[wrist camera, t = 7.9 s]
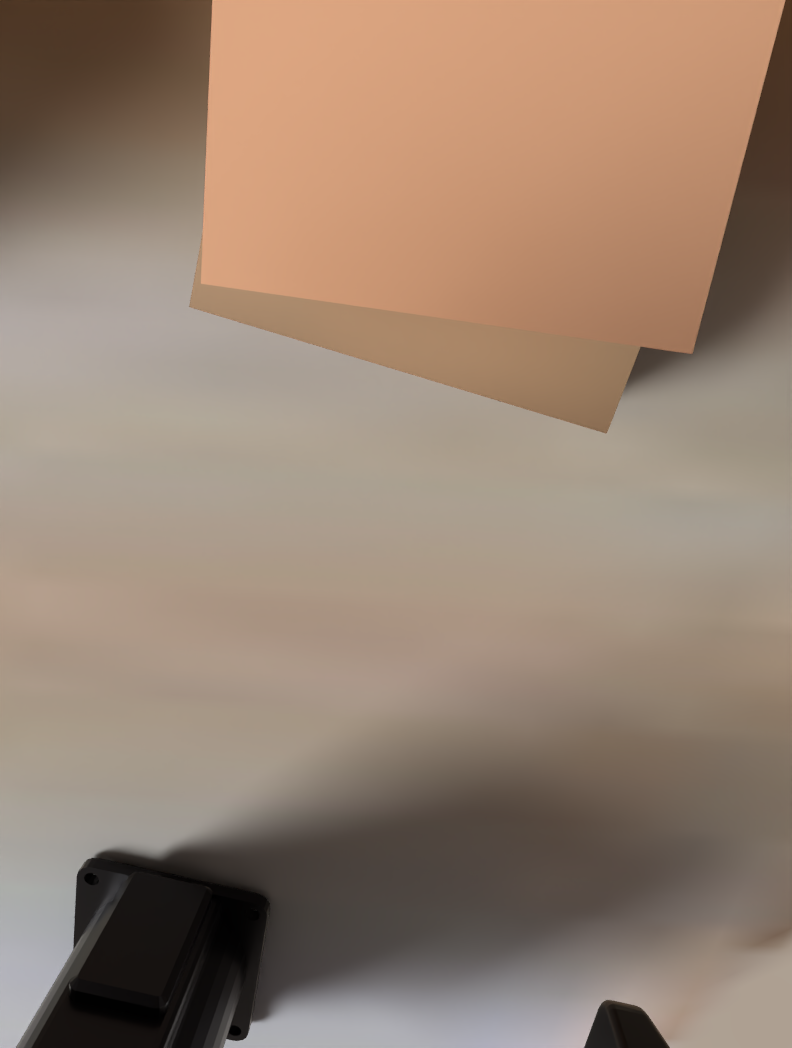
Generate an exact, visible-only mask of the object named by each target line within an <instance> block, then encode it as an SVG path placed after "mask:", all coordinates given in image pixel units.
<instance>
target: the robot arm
mask: <svg viewBox="0 0 792 1048" xmlns="http://www.w3.org/2000/svg"><path fill="white" fill-rule="evenodd" d="M94 874H95V875H94ZM252 909H255V910H257V911H254V910H252ZM269 912H270V903H269V901H268V900H267V899H266V898H265V897H264V896H263V895H260V894H257V893H253V892H248V891H244V890H239V889H235V888H230V887H226V886H221V885H216V884H212V883H207V882H203V881H198V880H194V879H189V878H185V877H180V876H176V875H171V874H166V873H162V872H157V871H153V870H148V869H144V868H139V867H135V866H130V865H126V864H121V863H116V862H112V861H107V860H103V859H98V858H91V859H88V860H87V861H85V862H84V864H83V865H82V867H81V868H80V870H79V871H78V874H77V885H76V906H75V927H74V948H73V951H72V953H71V955H70V957H69V958H68V960H67V962H66V963H65V965H64V967H63V968H62V970H61V972H60V974H59V975H58V977H57V979H56V980H55V982H54V984H53V985H52V987H51V989H50V991H49V992H48V994H47V996H46V997H45V999H44V1001H43V1002H42V1004H41V1006H40V1008H39V1009H38V1011H37V1013H36V1014H35V1016H34V1018H33V1019H32V1021H31V1023H30V1025H29V1026H28V1028H27V1030H26V1031H25V1033H24V1035H23V1036H22V1038H21V1040H20V1042H19V1043H18V1045H17V1047H16V1048H223V1047H224V1044H225V1041H226V1039H229V1040H235V1041H239V1040H243V1039H245V1038H246V1037H247V1035H248V1032H249V1029H250V1025H251V1021H252V1015H253V1009H254V1003H255V997H256V991H257V985H258V979H259V972H260V966H261V960H262V954H263V948H264V942H265V936H266V930H267V924H268V918H269ZM584 1048H670V1047H669V1046H668V1044H667V1043H666V1041H665V1040H664V1038H663V1037H662V1035H661V1034H660V1032H659V1031H658V1029H657V1028H656V1027H655V1025H654V1024H653V1022H652V1021H651V1019H650V1018H649V1016H648V1015H647V1014H646V1013H645V1012H644V1011H643V1010H642V1009H641V1008H640V1007H638V1006H635V1005H630V1004H626V1003H621V1002H616V1001H612V1000H606V1001H604V1002H603V1003H602V1004H601V1005H600V1007H599V1009H598V1012H597V1014H596V1017H595V1020H594V1022H593V1025H592V1028H591V1031H590V1033H589V1036H588V1039H587V1041H586V1044H585V1047H584Z"/></svg>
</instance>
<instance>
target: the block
mask: <svg viewBox="0 0 792 1048" xmlns="http://www.w3.org/2000/svg"><path fill="white" fill-rule="evenodd" d="M202 241H203V234H202V239H201V245H200V250H199V256H198V261H197V267H196V272H195V278H194V283H193V289H192V295H191V300H190V306H189V307H191V308H194V309H198V310H201V311H204V312H207V313H211V314H214V315H217V316H221V317H224V318H227V319H231V320H234V321H237V322H240V323H244V324H247V325H250V326H254V327H257V328H260V329H264V330H267V331H270V332H273V333H277V334H280V335H283V336H287V337H290V338H293V339H297V340H300V341H303V342H306V343H310V344H313V345H316V346H320V347H323V348H326V349H330V350H333V351H336V352H339V353H343V354H346V355H349V356H353V357H356V358H359V359H363V360H366V361H369V362H372V363H376V364H379V365H382V366H386V367H389V368H392V369H395V370H399V371H402V372H405V373H409V374H412V375H415V376H419V377H422V378H425V379H428V380H432V381H435V382H438V383H442V384H445V385H448V386H452V387H455V388H458V389H461V390H465V391H468V392H471V393H475V394H478V395H481V396H485V397H488V398H491V399H494V400H498V401H501V402H504V403H508V404H511V405H514V406H518V407H521V408H524V409H527V410H531V411H534V412H537V413H541V414H544V415H547V416H550V417H554V418H557V419H560V420H564V421H567V422H570V423H574V424H577V425H580V426H583V427H587V428H590V429H593V430H597V431H600V432H603V433H607V431H608V429H609V426H610V424H611V421H612V419H613V416H614V414H615V411H616V408H617V406H618V403H619V401H620V398H621V396H622V393H623V391H624V388H625V386H626V383H627V380H628V378H629V375H630V373H631V370H632V368H633V365H634V363H635V360H636V358H637V355H638V352H639V350H640V347H639V346H632V345H625V344H618V343H611V342H604V341H597V340H590V339H583V338H576V337H569V336H562V335H555V334H548V333H541V332H535V331H528V330H521V329H514V328H507V327H500V326H493V325H486V324H479V323H472V322H465V321H458V320H451V319H444V318H437V317H430V316H423V315H416V314H409V313H402V312H395V311H388V310H381V309H374V308H367V307H360V306H353V305H346V304H339V303H332V302H325V301H318V300H311V299H304V298H297V297H290V296H283V295H276V294H269V293H262V292H255V291H248V290H241V289H234V288H227V287H220V286H213V285H206V284H201V265H202Z"/></svg>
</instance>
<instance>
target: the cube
mask: <svg viewBox="0 0 792 1048" xmlns="http://www.w3.org/2000/svg"><path fill="white" fill-rule="evenodd" d="M784 4H785V0H212V22H211V46H210V71H209V95H208V119H207V144H206V168H205V192H204V217H203V241H202V265H201V284H206V285H213V286H220V287H227V288H234V289H241V290H248V291H255V292H262V293H269V294H276V295H283V296H290V297H297V298H304V299H311V300H318V301H325V302H332V303H339V304H346V305H353V306H360V307H367V308H374V309H381V310H388V311H395V312H402V313H409V314H416V315H423V316H430V317H437V318H444V319H451V320H458V321H465V322H472V323H479V324H486V325H493V326H500V327H507V328H514V329H521V330H528V331H535V332H541V333H548V334H555V335H562V336H569V337H576V338H583V339H590V340H597V341H604V342H611V343H618V344H625V345H632V346H639V347H646V348H653V349H660V350H667V351H674V352H681V353H688V354H692V353H693V350H694V346H695V342H696V338H697V334H698V331H699V327H700V323H701V319H702V315H703V312H704V308H705V304H706V300H707V296H708V293H709V289H710V285H711V281H712V277H713V274H714V270H715V266H716V262H717V258H718V255H719V251H720V247H721V243H722V239H723V236H724V232H725V228H726V224H727V220H728V217H729V213H730V209H731V205H732V201H733V198H734V194H735V190H736V186H737V182H738V179H739V175H740V171H741V167H742V163H743V160H744V156H745V152H746V148H747V144H748V141H749V137H750V133H751V129H752V125H753V122H754V118H755V114H756V110H757V106H758V103H759V99H760V95H761V91H762V87H763V84H764V80H765V76H766V72H767V68H768V65H769V61H770V57H771V53H772V49H773V46H774V42H775V38H776V34H777V30H778V26H779V23H780V19H781V15H782V11H783V7H784Z"/></svg>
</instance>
